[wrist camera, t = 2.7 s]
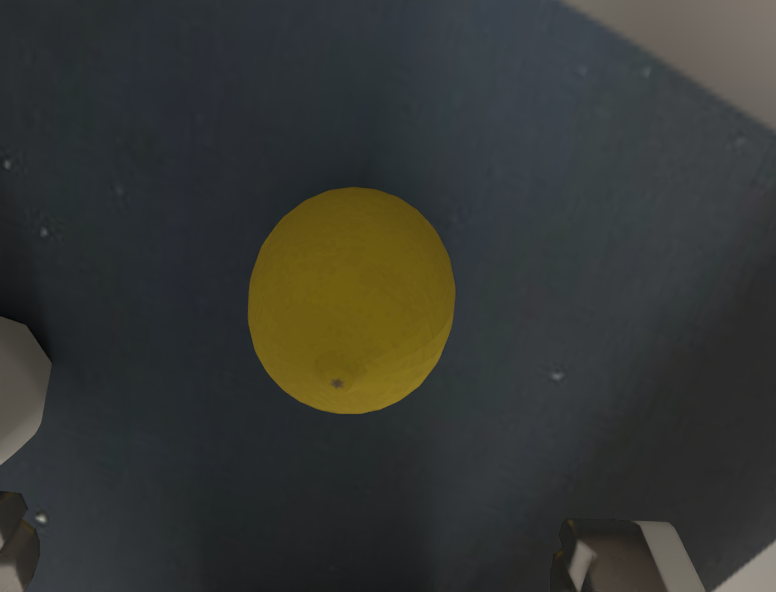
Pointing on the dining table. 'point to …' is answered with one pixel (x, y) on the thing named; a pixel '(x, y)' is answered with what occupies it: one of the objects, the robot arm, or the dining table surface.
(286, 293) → the lemon
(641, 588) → the robot arm
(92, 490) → the dining table surface
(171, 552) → the dining table surface
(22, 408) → the salt shaker
